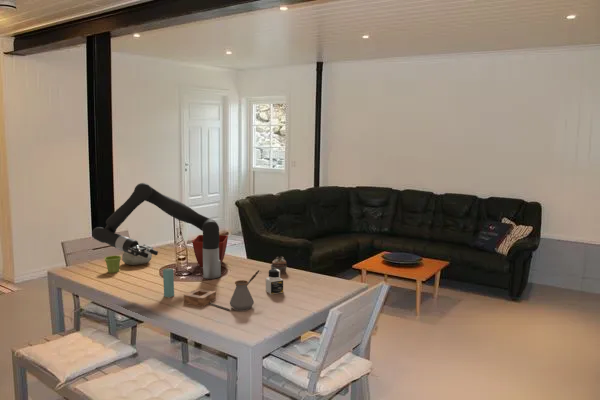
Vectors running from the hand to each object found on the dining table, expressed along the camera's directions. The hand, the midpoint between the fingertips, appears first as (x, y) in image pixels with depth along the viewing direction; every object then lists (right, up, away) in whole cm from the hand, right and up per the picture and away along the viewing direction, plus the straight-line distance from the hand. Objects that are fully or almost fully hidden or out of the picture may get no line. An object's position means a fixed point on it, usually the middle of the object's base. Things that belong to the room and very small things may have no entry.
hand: (152, 254), depth 253 cm
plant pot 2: (+20, -13, +57) cm, 62 cm away
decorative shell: (-27, -12, +57) cm, 65 cm away
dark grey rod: (+37, -23, -17) cm, 47 cm away
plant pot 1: (-35, -15, +40) cm, 56 cm away
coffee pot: (+51, -23, -13) cm, 57 cm away
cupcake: (+63, -16, +39) cm, 76 cm away
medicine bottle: (+63, -20, +6) cm, 66 cm away
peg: (+9, -21, -1) cm, 23 cm away
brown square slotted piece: (+26, -22, -8) cm, 35 cm away
